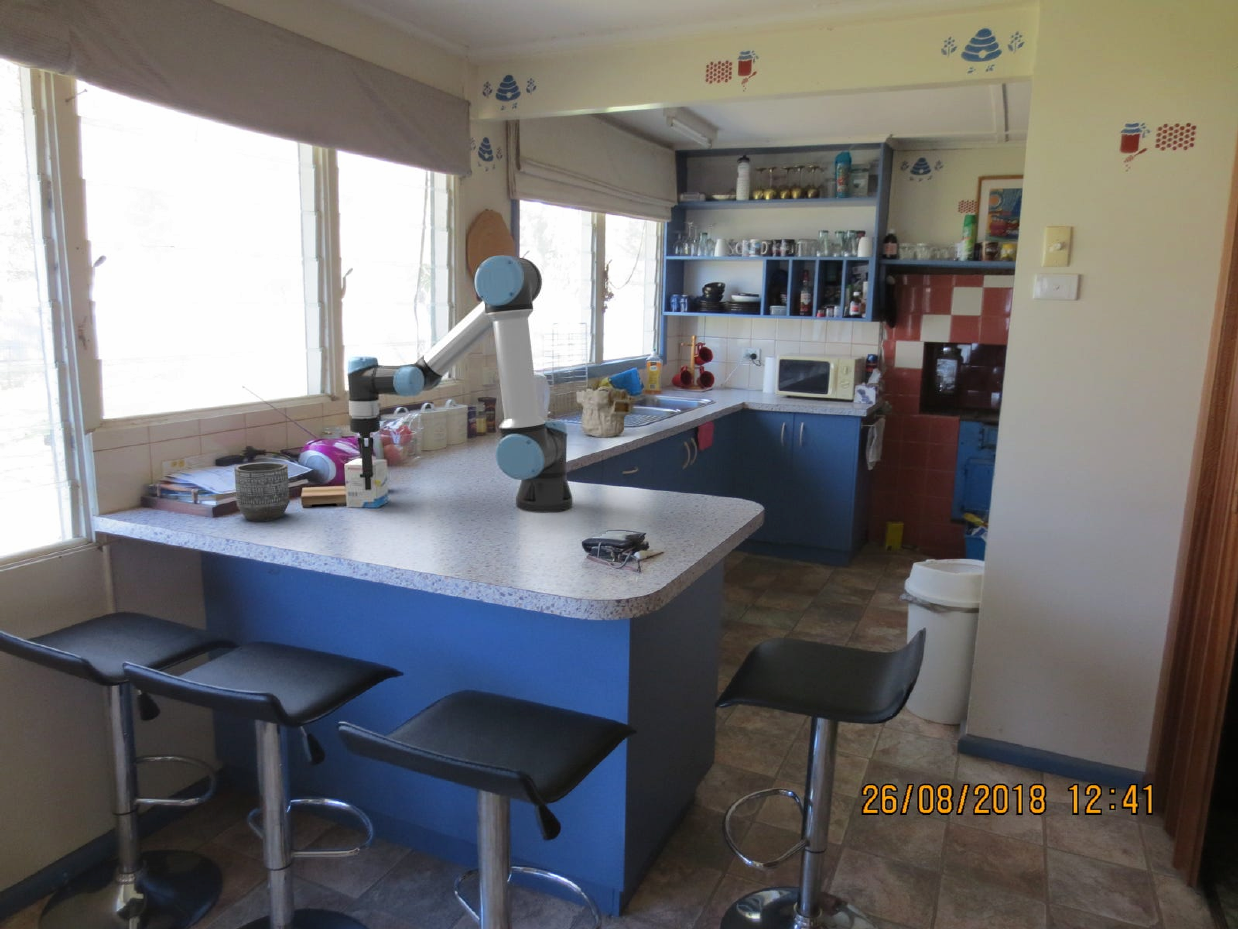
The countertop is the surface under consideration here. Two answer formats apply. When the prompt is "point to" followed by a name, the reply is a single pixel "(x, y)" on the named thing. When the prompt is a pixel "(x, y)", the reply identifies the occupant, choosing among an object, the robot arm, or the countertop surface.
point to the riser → (323, 495)
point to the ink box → (355, 483)
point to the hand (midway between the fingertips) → (367, 496)
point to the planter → (262, 490)
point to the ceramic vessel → (604, 410)
